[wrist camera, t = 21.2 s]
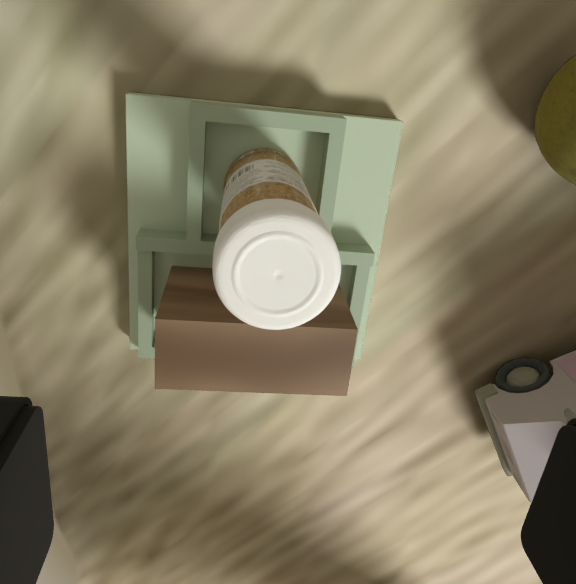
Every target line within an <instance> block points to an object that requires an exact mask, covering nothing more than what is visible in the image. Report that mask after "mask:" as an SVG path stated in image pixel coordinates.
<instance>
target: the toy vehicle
mask: <svg viewBox="0 0 576 584" xmlns="http://www.w3.org/2000/svg"><path fill="white" fill-rule="evenodd" d="M550 365H551V369H552V372H551V371H550V369H549V367H548V366H547V365H546V364H545V363H543V362H541V361H539V360H537V359H533V358H519V359H515V360H512V361H510V362H508V363H506V364H504V365H503V366H502V367H501V368H500V369H499V370H498V373H497V375H496V385H495V384H493V385H492V384H491V383H490V384H488V385H486V386H483V387H481V388H479V389H476V390H475V395H476V398H477V400H478V403H479V406H480V408H481V411H482V414H483V416H484V419H485V422H486V424H487V427H488V430H489V433H490V435H491V438H492V441H493V443H494V446H495V449H496V451H497V454H498V457H499V459H500V462H501V465H502V467H503V470H504V471H505V473H506V475H507V476H512V475H513V477H514V478H515V480H516V481H517V483H518V484H519V486H520V488H521V489H522V491H523V492H524V494H525V496H526V497H527V499H528V500H529V501H530V502H532V500H533V497H534V495H535V492H536V489H537V487H538V484H539V482H540V479H541V476H542V474H543V471H544V468H545V466H546V463H547V460H548V458H549V455H550V452H551V450H552V447H553V444H554V442H555V439H556V436H557V434H558V431H559V430H560V428H561V427H562V426H566V424H567V423H568V422H569V421H570V420H571V419H574V418H576V350H575V351H573V352H570V353H568V354H565V355H563V356H561V357H558V358H556V359H553V360H551V361H550ZM552 374H553V375H552Z"/></svg>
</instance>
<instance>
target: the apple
mask: <svg viewBox="0 0 576 584" xmlns="http://www.w3.org/2000/svg"><path fill="white" fill-rule="evenodd" d="M535 137H536V141H537V144H538V146H539V149H540V151H541V153H542V154H543V156H544V158H545V159H546V161H547V162H548V163H549V165H550V166H551V167H552V168H553V169H554V170H555V171H556V172H557V173H558V174H559V175H561V176H562V177H563V178H565V179H566V180H568V181H569V182H571V183H573V184H574V185H576V55H575V56H574V57H572V58H571V59H570V60H568V61H567V62H566V63H565V64H564V65H563V66H562V67H561V68H560V69H559V70H558V71H557V72H556V74H555V75H554V76H553V78H552V79H551V81H550V82H549V84H548V86H547V87H546V89H545V91H544V93H543V95H542V97H541V100H540V102H539V105H538V108H537V113H536V118H535Z"/></svg>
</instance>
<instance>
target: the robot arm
mask: <svg viewBox="0 0 576 584" xmlns="http://www.w3.org/2000/svg"><path fill="white" fill-rule="evenodd" d="M53 529H54V521H53V511H52V500H51V490H50V480H49V470H48V459H47V449H46V439H45V428H44V418H43V411H42V408H41V407H39V406H32V402H31V400H30V398H28V397H8V396H0V584H36V582H37V579H38V576H39V574H40V571H41V568H42V566H43V563H44V561H45V558H46V555H47V553H48V550H49V547H50V544H51V541H52V536H53ZM521 541H522V545H523V548H524V551H525V553H526V554H527V556H528V558H529V560H530V561H531V563H532V565H533V567H534V569H535V570H536V572H537V574H538V576H539V577H540V579H541V581H542V583H543V584H576V418H574V419H571V420H570V421H569V422H568V423H567V424H566V426H562V427H561V428H560V430H559V431H558V434H557V436H556V439H555V442H554V444H553V447H552V450H551V452H550V455H549V458H548V460H547V463H546V466H545V468H544V471H543V474H542V476H541V479H540V482H539V484H538V487H537V489H536V492H535V495H534V497H533V500H532V503H531V505H530V508H529V511H528V513H527V516H526V519H525V521H524V524H523V527H522V530H521Z"/></svg>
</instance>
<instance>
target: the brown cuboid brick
mask: <svg viewBox="0 0 576 584" xmlns="http://www.w3.org/2000/svg"><path fill="white" fill-rule="evenodd" d="M357 332H358V328H357V326H356V324H355V321H354V319H353V316H352V314H351V311H350V309H349V307H348V304H347V302H346V299H345V297H344V294H343V292H342V290H341V287H340V285H339V284H338V287H337V290H336V292H335V295H334V297H333V298H332V300H331V301H330V303H329V304H328V305H327V306H326V308H325V309H324V310H323V311H322V312H321V313H320V314H318V315H317V316H316V317H314V318H313V319H311V320H310V321H308V322H306V323H304V324H302V325H299V326H296V327H293V328H288V329H281V330H270V329H262V328H258V327H255V326H251V325H249V324H247V323H245V322H243V321H242V320H240V319H239V318H237V317H236V316H234V315H233V314H232V313H231V312H230V311H229V310H228V309H227V308H226V307H225V306H224V304H223V303H222V301H221V300H220V298H219V296H218V294H217V292H216V289H215V285H214V281H213V272H212V268H200V267H184V266H172V267H171V270H170V273H169V276H168V279H167V283H166V286H165V289H164V292H163V295H162V298H161V301H160V304H159V308H158V311H157V314H156V317H155V389H177V390H203V391H230V392H256V393H283V394H309V395H336V396H347V391H348V385H349V379H350V373H351V367H352V361H353V356H354V350H355V344H356V338H357Z"/></svg>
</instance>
